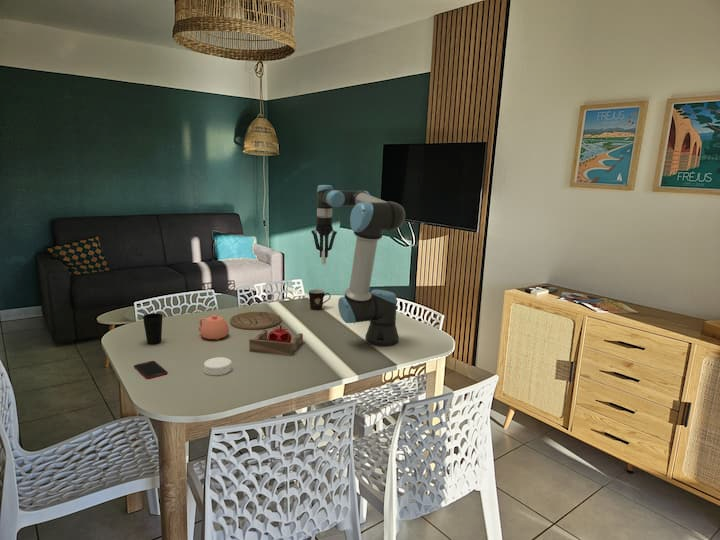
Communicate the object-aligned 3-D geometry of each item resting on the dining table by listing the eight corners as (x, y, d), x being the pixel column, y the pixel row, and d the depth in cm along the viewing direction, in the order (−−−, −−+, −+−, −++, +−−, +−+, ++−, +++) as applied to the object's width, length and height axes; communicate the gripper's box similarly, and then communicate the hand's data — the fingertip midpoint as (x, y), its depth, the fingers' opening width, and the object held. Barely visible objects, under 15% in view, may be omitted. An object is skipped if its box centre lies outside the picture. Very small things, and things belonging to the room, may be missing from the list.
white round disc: (205, 377, 173) (205, 368, 172) (202, 367, 182) (202, 358, 181) (233, 373, 177) (233, 365, 176) (229, 363, 186) (229, 355, 185)
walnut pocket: (264, 338, 215) (264, 327, 214) (302, 342, 212) (302, 331, 211) (249, 351, 199) (249, 340, 198) (290, 355, 196) (290, 344, 195)
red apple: (270, 341, 211) (270, 321, 210) (292, 342, 211) (292, 322, 210) (266, 349, 202) (265, 328, 200) (289, 349, 202) (289, 328, 200)
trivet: (270, 312, 254) (270, 309, 254) (288, 326, 234) (288, 322, 233) (223, 318, 242) (223, 315, 241) (238, 333, 221) (238, 329, 220)
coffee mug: (306, 310, 260) (306, 292, 258) (310, 306, 269) (311, 288, 267) (327, 311, 258) (327, 294, 256) (330, 307, 267) (331, 290, 265)
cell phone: (146, 380, 169) (146, 378, 169) (133, 367, 180) (132, 365, 180) (168, 375, 175) (168, 372, 174) (154, 362, 185) (153, 360, 185)
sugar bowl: (220, 342, 208) (220, 320, 206) (191, 339, 210) (190, 317, 208) (233, 334, 219) (233, 312, 217) (206, 331, 222) (205, 310, 220)
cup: (166, 342, 206) (165, 316, 203) (149, 346, 200) (147, 319, 198) (159, 338, 211) (157, 312, 208) (141, 342, 205) (139, 315, 203)
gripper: (339, 216, 236) (338, 263, 241) (313, 215, 239) (313, 261, 243) (335, 218, 229) (334, 266, 234) (309, 216, 231) (309, 264, 236)
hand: (323, 263), depth 239 cm, fingers closed
